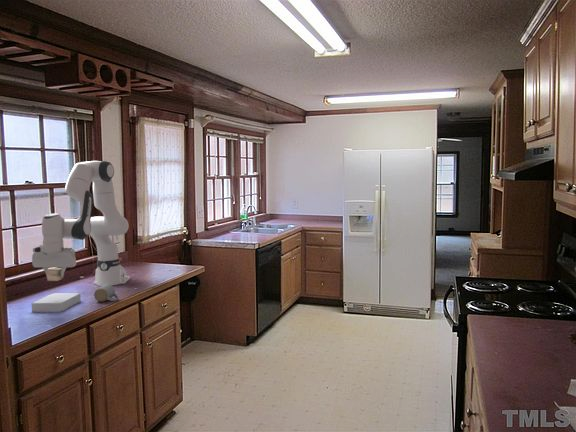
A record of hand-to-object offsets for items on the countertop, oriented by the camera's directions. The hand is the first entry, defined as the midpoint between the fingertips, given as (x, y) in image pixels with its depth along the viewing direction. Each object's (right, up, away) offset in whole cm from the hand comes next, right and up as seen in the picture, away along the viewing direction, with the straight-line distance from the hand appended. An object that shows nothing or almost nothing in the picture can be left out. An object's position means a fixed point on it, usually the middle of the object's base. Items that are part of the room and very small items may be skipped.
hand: (55, 276), depth 228 cm
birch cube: (0, -2, 0) cm, 2 cm away
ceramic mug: (+21, -14, +11) cm, 27 cm away
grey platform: (0, -15, +2) cm, 15 cm away
